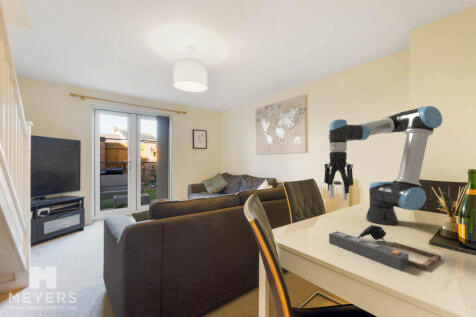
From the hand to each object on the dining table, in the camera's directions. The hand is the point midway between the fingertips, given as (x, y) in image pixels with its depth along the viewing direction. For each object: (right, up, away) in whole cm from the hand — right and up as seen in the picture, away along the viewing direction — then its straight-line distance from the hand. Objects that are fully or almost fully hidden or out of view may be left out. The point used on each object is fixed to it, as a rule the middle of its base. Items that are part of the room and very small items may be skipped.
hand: (338, 198), depth 101 cm
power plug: (+5, -19, -9) cm, 22 cm away
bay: (+14, -17, -24) cm, 33 cm away
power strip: (0, -17, -21) cm, 27 cm away
